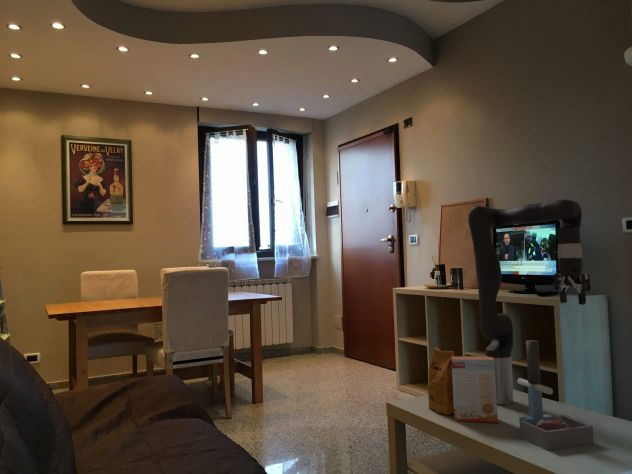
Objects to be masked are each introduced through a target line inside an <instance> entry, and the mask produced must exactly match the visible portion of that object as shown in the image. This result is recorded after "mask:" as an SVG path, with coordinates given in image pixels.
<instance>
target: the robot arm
mask: <svg viewBox="0 0 632 474" xmlns="http://www.w3.org/2000/svg"><path fill="white" fill-rule="evenodd" d="M468 213H469V214H468V216H467V217H468V218H467V219H468V226H469V231H470V236H471V239H472V246H473V255H474V263H475V273H476V281H477V288H478V289H477V291H478V303H479V304H478V305H479V306H478V307H479V309H478V310H479V315H478V316H479V319H478V320H479V328H480V331H481V333H482V336H484V338H485V339H488V340H491V342H490V344H488V346H487V347H486V348H485V357H493V358H494V363H495V381H496V398H497V405H511V404H513V403H514V387H513V367H512V366H513V364H512V363H513V362H512V350H513V347H514V327H513V322H512V320H511V318H510V317H509V316H508V315H507V314H505V313H502V312H501V313H500V312H499V313H498V312H497V311H498V310H497V296H498V294H499V291H500V288H501V285H502V279H503V277H502V276H503V275H502V274H503V273H502V267H501V261H500V258H499V256H498V254H497V252H496V250H495V247H494V245H493V243H492V240H491V233H490V231H491V230H492V229H496V228H500V227H504V226H509V225H518V224H519V225H521V224H523V225H524V224H536V223H538V224H539V223H545V222H549V221H560V228H559V229H558V230H557V259H558V270H559V271H560V273H559V272H558V273H554V275H553V281H554V282H553V286H554V288H553V289H554V290H555V291H557V292H558V295H559V302H560V303H561V304H566V303H568V299H567V292H566V291H567V290H568V288H570V287H573V288H574V289H576V291H577V298H578V305H579V306H580V305H581V306H583V305H586V303H587V300H586V299H587V297H586V295H587V293H589V292H591V291H592V288H591V279H590V274H589V273H582V271H583V270H584V266H583V250H582V245H581V232H580V231H581V224H582V217H583V215H582V208H581V205H580V203H578V202H577V201H574V200H571V199H558V200H557V199H556V200H552V201H548V202H537V203H530V204H524V205H518V206H515V207H511V208H492V207H487V206H483V205H477V206H474V207H472V208H471V209H470V211H469V212H468Z"/></svg>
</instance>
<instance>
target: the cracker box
mask: <svg viewBox="0 0 632 474" xmlns="http://www.w3.org/2000/svg"><path fill="white" fill-rule="evenodd" d="M452 380H453V401H454V413H453V415H454V422H455V421H456V422H477V423H479V422H480V423H495V424H496V423H499V422H498V420H499V419H498V418H499V417H498V404H497V398H496V381H495V363H494V358H493V357H486V356H455V357H454V356H453V357H452Z"/></svg>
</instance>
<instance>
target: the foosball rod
mask: <svg viewBox="0 0 632 474" xmlns="http://www.w3.org/2000/svg"><path fill="white" fill-rule="evenodd" d="M539 345H540V344H539V340H535V339H533V340H532V339H530V340H525V347H526V349H525V350H526V368H527V379H524V378H521V377H519V378H518V379H517V380H516V381H517V384H518V385H521V386H523V387H526V388H527V398H528V415H526V416H519V417H518V418H519V420H518V422H519V423H520V420H523V421H526V422H528V423H530V424H532V425H535V426H536V424H537V422H538V421H540V420H544V421H545V420H550V419H551V420H554V416H553V415H550V414H547V413H544V410H543V406H544V405H543V393H544V394H546V395H551V396H552V395H553V393H554V390H553V388H552V387H549V386H545V385H544V384H541V382H542V381H541V369H540V367H541V365H540V364H541V363H540V349H539V347H540V346H539Z"/></svg>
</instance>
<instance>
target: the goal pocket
mask: <svg viewBox="0 0 632 474" xmlns="http://www.w3.org/2000/svg"><path fill="white" fill-rule="evenodd" d="M560 419H561V420H560V422H565V423H566V424H568V425H569V427H570V428H565V429H557V430H549V431H546V430H544V429H541V428H539V427H537V426H535V425H532V424H530V423H528V422H526V421H523V420H520V422H519V432H520V433H519V437H520V438H521V439H523V440H526V441H527V442H529V443H531V444H532V445H535V446H537V447H539V448H541V449H542V450H545V451H553V450H560V449H567V448H573V447H580V446H588V445H594V443H595V441H594V426H593V425H590V424H588V423H585V422H583V421H580V420H578V419H576V418H573V417H570V416H567V415H565V414H561V415H560Z"/></svg>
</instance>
